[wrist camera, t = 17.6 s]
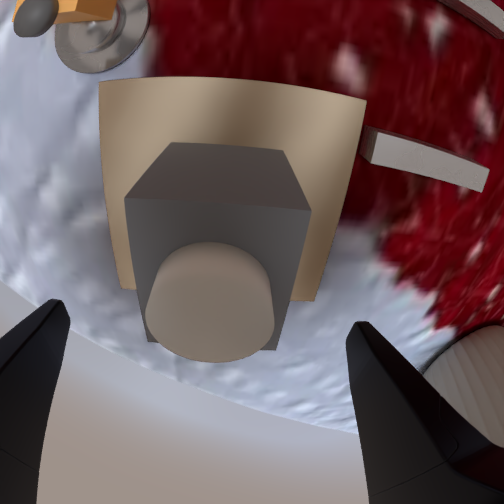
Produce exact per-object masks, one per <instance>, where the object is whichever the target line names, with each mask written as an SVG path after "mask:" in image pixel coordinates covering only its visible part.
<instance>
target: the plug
mask: <svg viewBox="0 0 504 504" xmlns="http://www.w3.org/2000/svg"><path fill="white" fill-rule="evenodd" d="M124 205H125V214H126V223H127V231H128V239H129V246H130V253H131V259H132V266H133V272H134V277H135V283H136V288H137V294H138V299H139V304H140V309H141V313H142V318H143V323H144V327H145V331H146V336H147V340H148V342H157V343H160V344H161V345H162V346H164V347H165V348H167V349H168V350H170V351H171V352H173V353H175V354H177V355H180V356H182V357H185V358H188V359H191V360H195V361H201V362H210V363H221V362H230V361H235V360H239V359H242V358H245V357H248V356H250V355H252V354H254V353H256V352H257V351H259V350H276V348H277V345H278V341H279V338H280V334H281V331H282V327H283V324H284V320H285V316H286V313H287V309H288V305H289V302H290V298H291V294H292V290H293V286H294V283H295V279H296V275H297V271H298V267H299V263H300V259H301V255H302V251H303V247H304V243H305V239H306V234H307V230H308V226H309V222H310V217H311V213H312V210H311V208H310V206H309V203H308V201H307V199H306V197H305V195H304V193H303V190H302V188H301V186H300V184H299V182H298V180H297V178H296V176H295V174H294V172H293V169H292V167H291V165H290V163H289V161H288V159H287V157H286V155H285V153H284V151H283V150H276V149H267V148H258V147H247V146H235V145H222V144H205V143H182V142H171V143H170V144H169V145H168V146H167V147H166V148H165V149H164V151H163V152H162V153H161V154H160V155H159V156H158V157H157V158H156V160H155V161H154V162H153V163H152V164H151V165H150V167H149V168H148V169H147V170H146V171H145V172H144V174H143V175H142V176H141V177H140V178H139V180H138V181H137V182H136V183H135V185H134V186H133V187H132V188H131V190H130V191H129V192H128V193H127V195H126V196H125V197H124Z"/></svg>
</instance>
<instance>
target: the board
mask: <svg viewBox="0 0 504 504" xmlns="http://www.w3.org/2000/svg"><path fill="white" fill-rule="evenodd" d="M366 102H367V101H365V100H362V99H358V98H354V97H350V96H346V95H341V94H337V93H332V92H328V91H323V90H317V89H312V88H306V87H301V86H294V85H288V84H281V83H273V82H265V81H256V80H246V79H233V78H217V77H147V78H131V79H119V80H109V81H102V82H99V130H100V149H101V163H102V174H103V184H104V193H105V201H106V209H107V216H108V223H109V229H110V235H111V241H112V247H113V252H114V258H115V263H116V268H117V272H118V277H119V282H120V286H121V288H123V289H132V290H137V288H136V283H135V277H134V272H133V266H132V259H131V253H130V246H129V239H128V231H127V223H126V214H125V205H124V197H125V196H126V195H127V193H128V192H129V191H130V190H131V188H132V187H133V186H134V185H135V183H136V182H137V181H138V180H139V178H140V177H141V176H142V175H143V174H144V172H145V171H146V170H147V169H148V168H149V167H150V165H151V164H152V163H153V162H154V161H155V160H156V158H157V157H158V156H159V155H160V154H161V153H162V152H163V151H164V149H165V148H166V147H167V146H168V145H169V144H170V143H171V142H182V143H205V144H222V145H235V146H247V147H258V148H267V149H276V150H283V151H284V153H285V155H286V157H287V159H288V161H289V163H290V165H291V167H292V169H293V172H294V174H295V176H296V178H297V180H298V182H299V184H300V186H301V188H302V190H303V193H304V195H305V197H306V199H307V201H308V203H309V206H310V208H311V210H312V213H311V217H310V222H309V226H308V230H307V234H306V239H305V243H304V247H303V251H302V255H301V259H300V263H299V267H298V271H297V275H296V279H295V283H294V286H293V290H292V294H291V298H290V301H314V300H315V297H316V293H317V290H318V287H319V284H320V281H321V278H322V275H323V272H324V269H325V265H326V262H327V259H328V256H329V252H330V249H331V246H332V242H333V239H334V235H335V232H336V228H337V225H338V221H339V218H340V214H341V210H342V207H343V203H344V199H345V195H346V191H347V187H348V184H349V180H350V175H351V171H352V167H353V163H354V159H355V155H356V150H357V146H358V141H359V137H360V132H361V127H362V122H363V118H364V113H365V107H366Z"/></svg>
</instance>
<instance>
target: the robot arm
mask: <svg viewBox="0 0 504 504" xmlns="http://www.w3.org/2000/svg"><path fill="white" fill-rule="evenodd" d="M69 328H70V317H69V315H68V312H67V310H66V307H65V305H64V303H63V301H62V300H58V299H50V300H48V301H47V302H46V303H44V304H43V305H42V306H40V307H39V308H38V309H36V310H35V311H34V312H33V313H31V314H30V315H29V316H28V317H26V318H25V319H24V320H22V321H21V322H20V323H19V324H17V325H16V326H15V327H14V328H12V329H11V330H10V331H9V332H8V333H6V334H5V335H4V336H3V337H1V338H0V504H36V501H37V488H38V478H39V468H40V461H41V454H42V448H43V442H44V436H45V431H46V426H47V421H48V417H49V412H50V407H51V403H52V399H53V395H54V391H55V387H56V384H57V380H58V377H59V373H60V369H61V366H62V361H63V356H64V350H65V346H66V341H67V336H68V332H69ZM346 353H347V362H348V372H349V382H350V390H351V395H352V400H353V405H354V410H355V415H356V421H357V426H358V432H359V437H360V443H361V449H362V455H363V461H364V468H365V475H366V481H367V489H368V496H369V504H504V448H503V447H500V446H498V445H496V444H494V443H492V442H491V441H490V440H488V439H487V438H486V437H485V436H484V435H483V434H482V433H481V432H479V431H478V430H477V429H476V428H475V427H474V426H473V425H471V424H470V423H469V422H468V421H467V420H466V419H465V418H464V417H463V416H461V415H460V414H459V413H458V412H457V411H456V410H455V409H454V408H453V407H452V406H451V405H450V404H449V403H448V402H447V401H446V400H445V399H444V397H443V396H440V393H439V392H438V391H437V390H436V389H435V388H434V387H433V386H432V385H431V384H430V383H429V382H428V381H427V380H426V379H425V378H424V377H423V376H422V375H421V374H420V373H419V372H418V371H417V370H416V369H415V368H414V367H413V366H412V365H411V364H410V363H409V362H408V361H407V360H406V359H405V358H404V357H403V355H402V354H401V353H400V352H399V351H398V350H397V349H396V348H395V347H394V346H393V345H392V344H391V343H390V342H389V341H387V340H386V339H385V338H384V337H383V336H382V335H381V334H380V333H379V332H378V331H377V330H376V329H375V328H374V327H373V326H372V325H371V324H370V323H369V322H367V321H357V322H355V323H354V325H353V326H352V328H351V330H350V332H349V334H348V336H347V339H346Z"/></svg>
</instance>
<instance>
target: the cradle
mask: <svg viewBox="0 0 504 504" xmlns="http://www.w3.org/2000/svg"><path fill="white" fill-rule="evenodd" d="M437 1H439V2H441V3H443V4H445V5H446V6H448V7H450V8H452V9H453V10H455V11H457V12H458V13H460V14H461V15H463V16H465V17H466V18H468V19H469V20H471V21H472V22H474V23H475V24H477V25H478V26H480V27H481V28H483V29H484V30H485V31H487V32H488V33H490V34H491V35H492V36H494V37H495V38H497V39H504V11H503V10H502V9H500V8H499V7H498V6H497V5H495V4H494V3H493V2H492V1H490V0H437ZM149 20H150V6H149V3H148V0H117V3H116V6H115V9H114V13H113V16H112V20H97V21H80V22H69V23H60V24H56V31H55V47H56V51H57V53H58V56H59V58H60V59H61V61H62V62H63V63H64V64H65V65H66V66H67V67H69V68H70V69H72V70H74V71H77V72H81V73H95V72H101V71H105V70H108V69H111V68H113V67H115V66H117V65H118V64H120V63H122V62H123V61H124V60H126V59H127V58H128V57H129V56H130V55H131V54H132V53H133V52H134V51H135V50H136V49H137V47H138V46H139V44H140V43H141V41H142V40H143V38H144V36H145V34H146V31H147V29H148V25H149ZM359 154H360V155H362V156H363V157H364V158H365V159H366V160H368V161H369V162H370V163H372V164H377V165H382V166H386V167H391V168H395V169H400V170H404V171H408V172H412V173H416V174H420V175H424V176H428V177H432V178H435V179H439V180H443V181H446V182H450V183H453V184H456V185H460V186H463V187H466V188H469V189H473V190H476V191H479V192H482V190H483V187H484V185H485V182H486V179H487V176H488V173H489V169H488V168H486V167H485V166H483V165H482V164H480V163H478V162H477V161H475V160H473V159H471V158H468V157H466V156H463V155H461V154H458V153H455V152H453V151H450V150H447V149H444V148H442V147H439V146H436V145H433V144H430V143H427V142H424V141H421V140H417V139H414V138H411V137H408V136H404V135H401V134H397V133H394V132H390V131H386V130H383V129H379V128H375V127H371V126H367V125H365V127H364V131H363V136H362V140H361V145H360V149H359Z"/></svg>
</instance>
